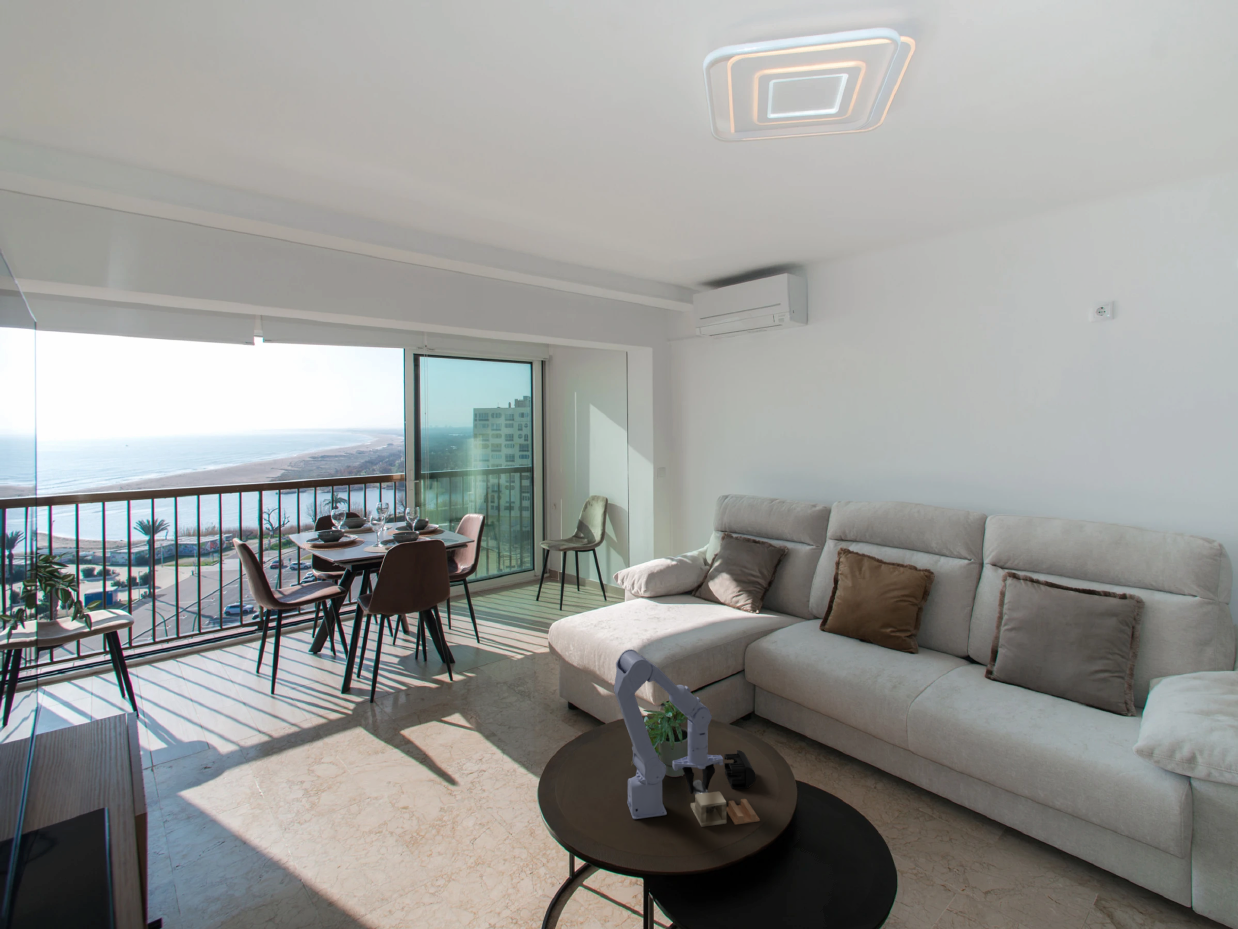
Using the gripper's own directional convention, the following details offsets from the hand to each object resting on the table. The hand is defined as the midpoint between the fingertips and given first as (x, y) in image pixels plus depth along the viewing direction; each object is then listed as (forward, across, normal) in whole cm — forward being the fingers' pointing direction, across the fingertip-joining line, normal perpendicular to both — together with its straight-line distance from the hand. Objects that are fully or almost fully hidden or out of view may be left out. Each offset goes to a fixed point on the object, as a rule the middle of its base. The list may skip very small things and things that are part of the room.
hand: (698, 791), depth 171 cm
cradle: (+2, +9, -10) cm, 14 cm away
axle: (-1, 0, -4) cm, 5 cm away
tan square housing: (+2, 0, -9) cm, 9 cm away
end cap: (+2, +15, +6) cm, 16 cm away
